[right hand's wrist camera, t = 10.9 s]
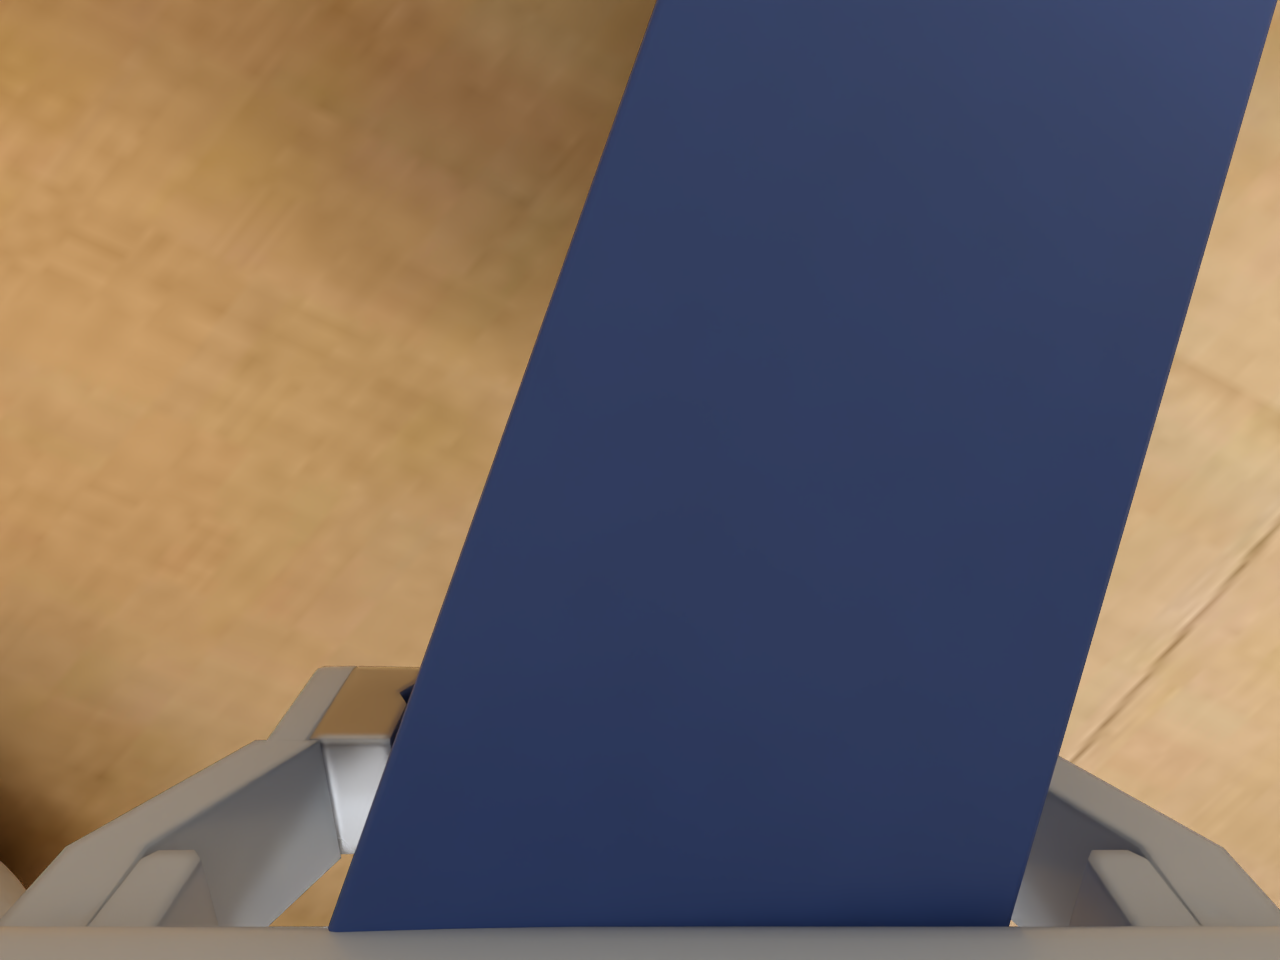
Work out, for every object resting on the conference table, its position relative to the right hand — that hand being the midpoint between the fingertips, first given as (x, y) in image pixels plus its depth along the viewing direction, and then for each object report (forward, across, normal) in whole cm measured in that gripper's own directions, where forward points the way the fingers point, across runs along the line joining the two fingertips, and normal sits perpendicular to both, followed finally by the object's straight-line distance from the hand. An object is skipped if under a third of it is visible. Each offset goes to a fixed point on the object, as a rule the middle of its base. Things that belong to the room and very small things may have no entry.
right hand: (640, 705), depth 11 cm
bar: (+8, -3, -8) cm, 12 cm away
